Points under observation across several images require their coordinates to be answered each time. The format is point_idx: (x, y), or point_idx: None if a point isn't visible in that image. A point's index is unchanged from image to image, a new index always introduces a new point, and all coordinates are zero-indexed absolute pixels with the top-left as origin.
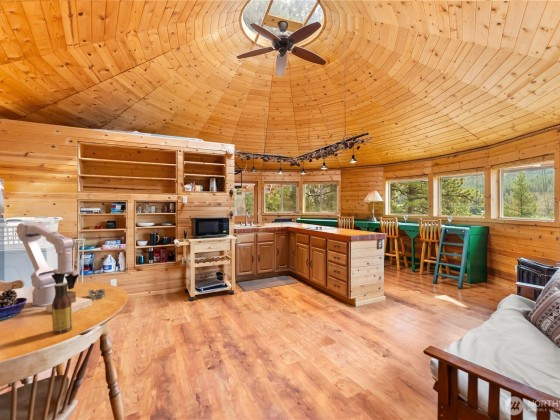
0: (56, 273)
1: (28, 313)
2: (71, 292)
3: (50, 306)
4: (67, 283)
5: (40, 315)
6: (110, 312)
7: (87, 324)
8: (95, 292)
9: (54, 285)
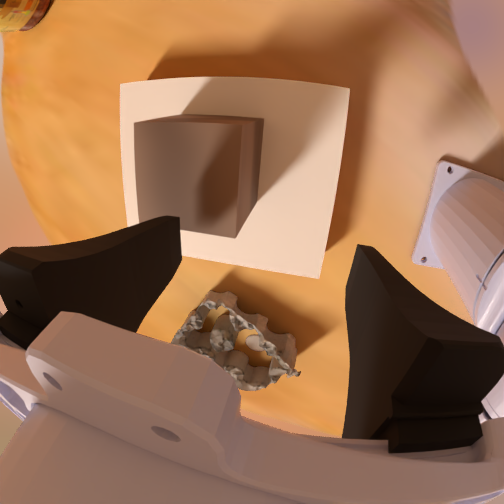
0: (129, 331)
1: (423, 51)
2: (156, 202)
3: (293, 80)
4: (130, 238)
5: (303, 27)
6: (24, 177)
7: (11, 74)
8: (272, 365)
9: (474, 319)
